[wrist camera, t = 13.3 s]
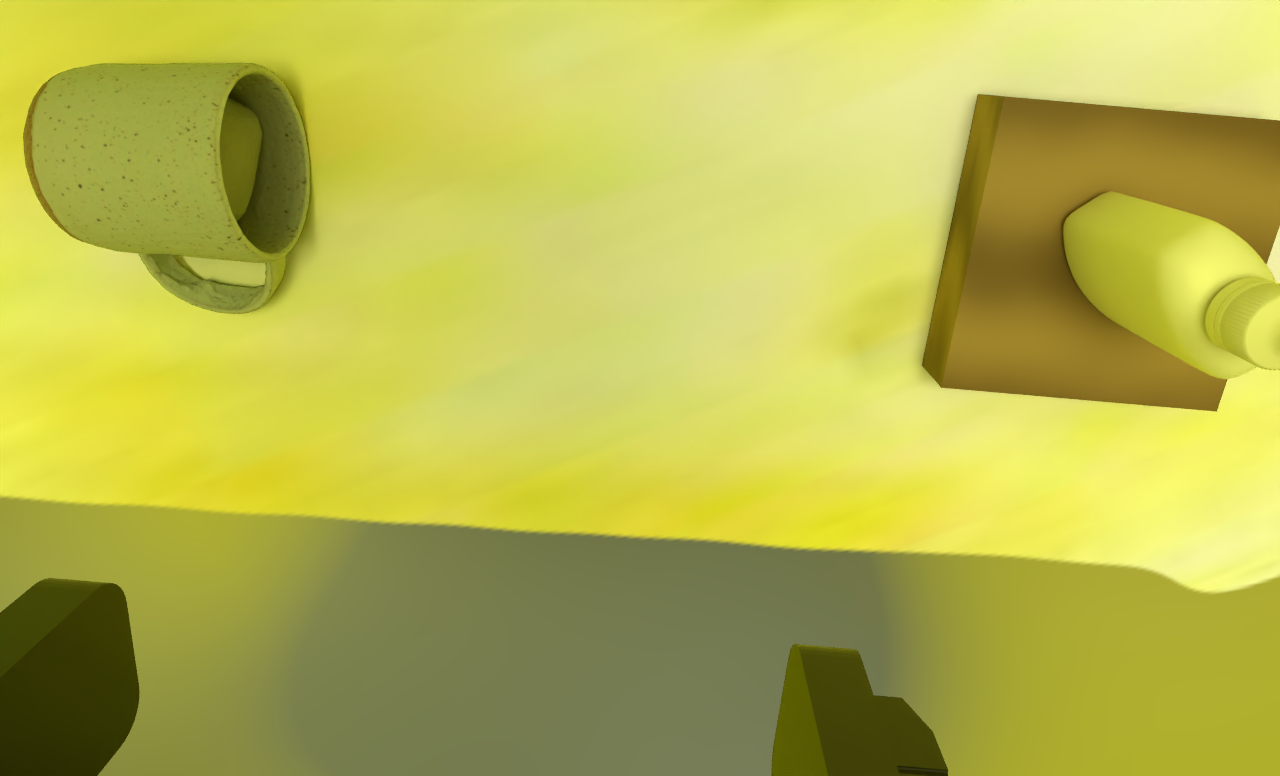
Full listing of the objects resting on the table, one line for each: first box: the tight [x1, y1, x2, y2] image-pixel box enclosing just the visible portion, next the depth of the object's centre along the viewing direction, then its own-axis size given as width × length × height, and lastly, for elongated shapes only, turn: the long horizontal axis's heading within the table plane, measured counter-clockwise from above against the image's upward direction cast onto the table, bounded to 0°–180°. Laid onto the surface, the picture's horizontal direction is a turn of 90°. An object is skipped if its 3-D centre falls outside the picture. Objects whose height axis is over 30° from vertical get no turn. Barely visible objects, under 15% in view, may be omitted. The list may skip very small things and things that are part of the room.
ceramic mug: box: [23, 63, 310, 314], centre depth 35 cm, size 11×8×8 cm
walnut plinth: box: [922, 94, 1280, 411], centre depth 37 cm, size 12×12×3 cm
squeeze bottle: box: [1063, 191, 1280, 379], centre depth 30 cm, size 4×6×12 cm
